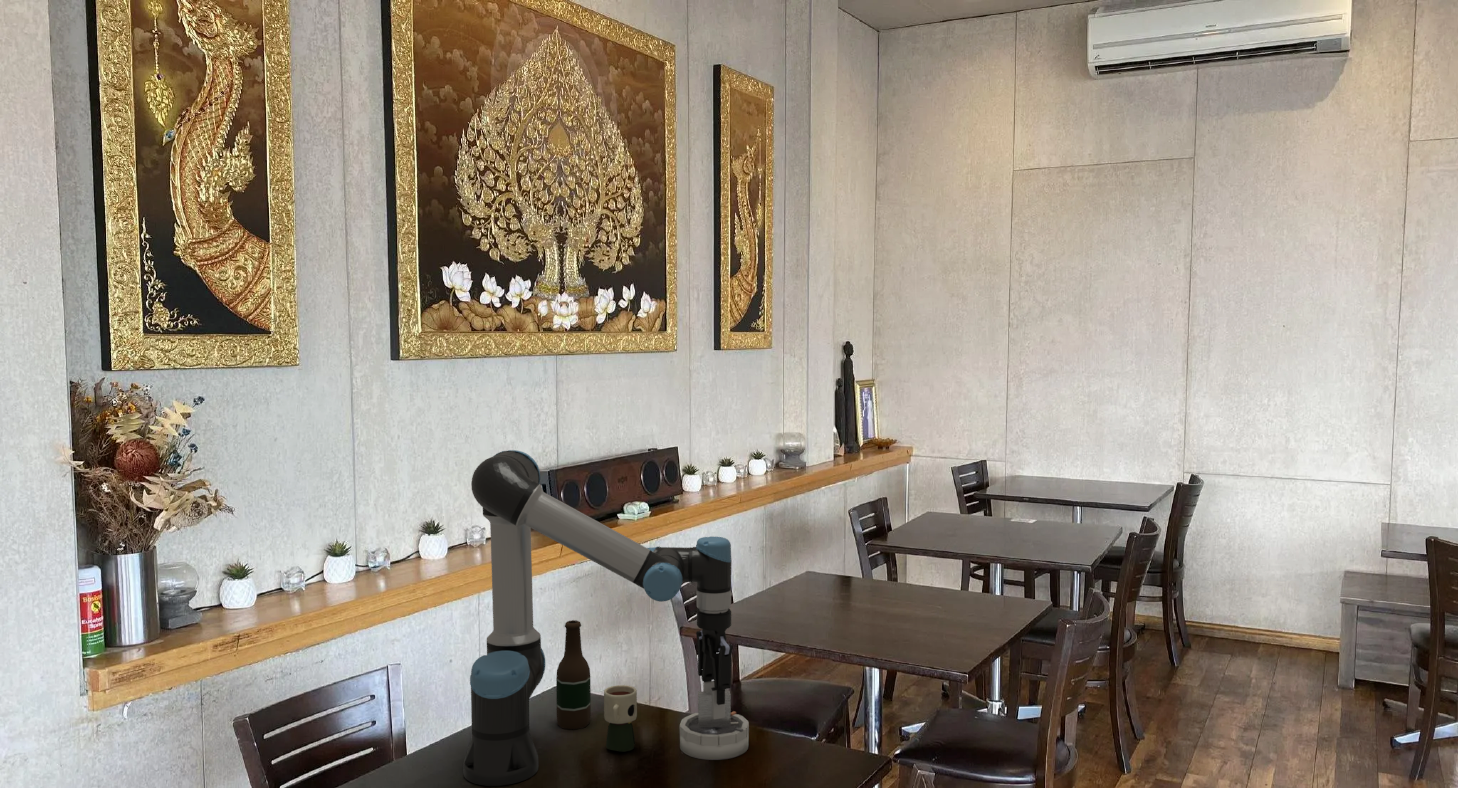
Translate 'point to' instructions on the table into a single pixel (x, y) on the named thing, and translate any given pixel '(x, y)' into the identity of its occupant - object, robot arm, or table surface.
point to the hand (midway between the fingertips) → (714, 714)
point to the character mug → (620, 716)
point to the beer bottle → (573, 682)
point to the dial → (705, 720)
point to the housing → (714, 740)
